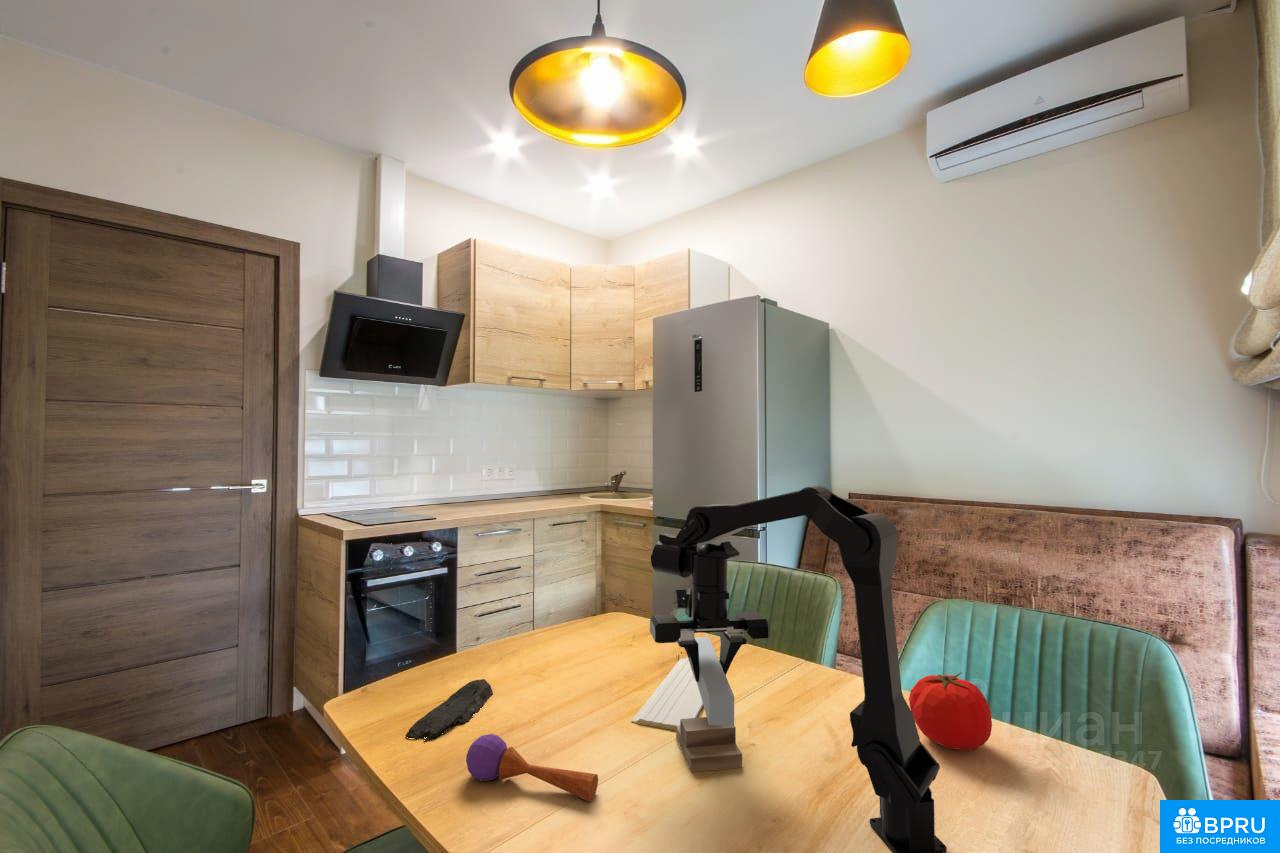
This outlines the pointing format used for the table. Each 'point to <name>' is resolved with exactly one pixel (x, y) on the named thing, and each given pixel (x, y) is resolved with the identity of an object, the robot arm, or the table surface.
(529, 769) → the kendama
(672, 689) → the baseboard molding
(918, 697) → the tomato
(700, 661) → the slate stick
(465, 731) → the table surface
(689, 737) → the ridge block
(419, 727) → the wood
